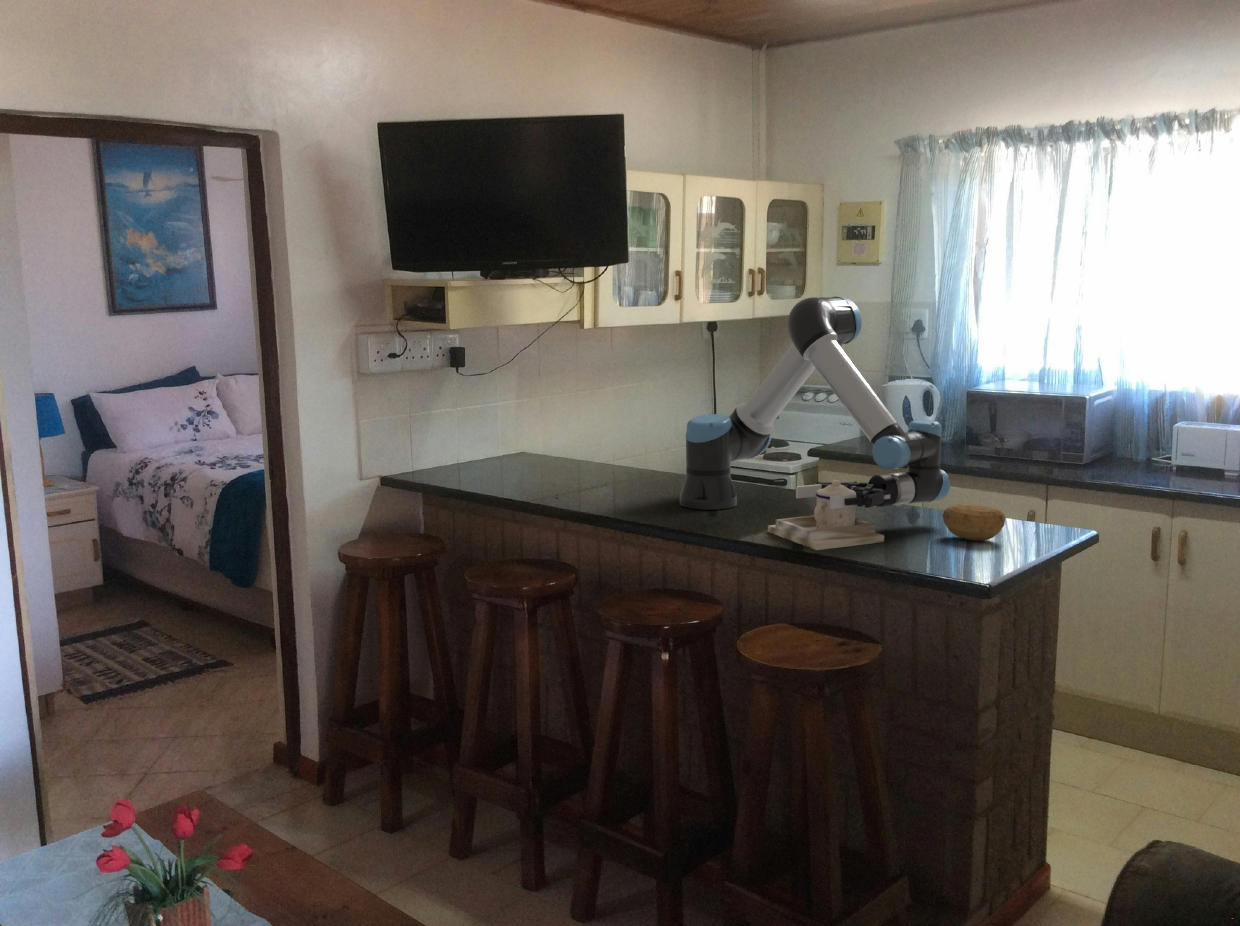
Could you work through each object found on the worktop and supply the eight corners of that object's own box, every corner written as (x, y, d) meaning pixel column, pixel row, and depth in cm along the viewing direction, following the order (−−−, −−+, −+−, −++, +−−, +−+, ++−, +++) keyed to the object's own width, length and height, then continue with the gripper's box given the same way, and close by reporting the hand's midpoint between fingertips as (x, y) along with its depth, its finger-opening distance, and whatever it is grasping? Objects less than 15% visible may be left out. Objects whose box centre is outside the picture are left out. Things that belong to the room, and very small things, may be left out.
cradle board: (768, 531, 254) (768, 517, 253) (832, 524, 261) (832, 510, 260) (816, 550, 236) (816, 534, 235) (883, 541, 243) (884, 526, 242)
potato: (954, 531, 252) (955, 498, 251) (1011, 541, 242) (1013, 506, 241) (932, 538, 246) (934, 504, 244) (991, 548, 236) (993, 512, 234)
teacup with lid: (831, 525, 254) (832, 476, 252) (863, 530, 247) (864, 480, 245) (799, 533, 246) (799, 482, 244) (831, 539, 239) (832, 487, 237)
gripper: (924, 515, 243) (845, 524, 235) (857, 496, 266) (783, 503, 257) (925, 482, 242) (846, 490, 234) (858, 466, 265) (784, 472, 256)
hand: (813, 497), depth 245 cm, fingers open, 13 cm apart
